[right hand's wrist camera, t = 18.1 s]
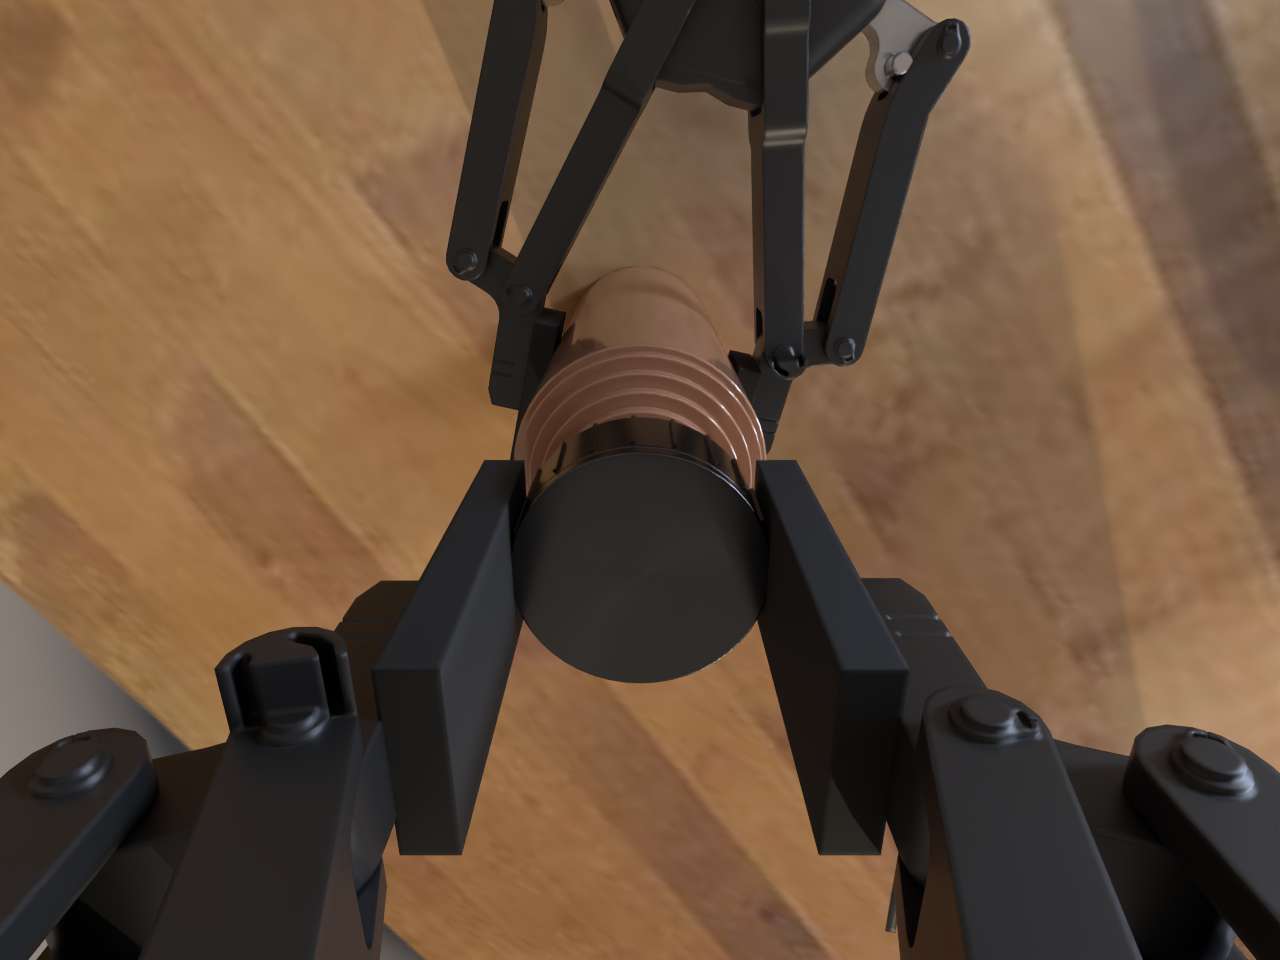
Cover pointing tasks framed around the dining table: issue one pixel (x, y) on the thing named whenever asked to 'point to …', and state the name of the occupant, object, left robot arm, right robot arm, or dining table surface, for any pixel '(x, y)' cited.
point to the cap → (640, 552)
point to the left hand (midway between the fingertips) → (608, 513)
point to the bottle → (640, 371)
